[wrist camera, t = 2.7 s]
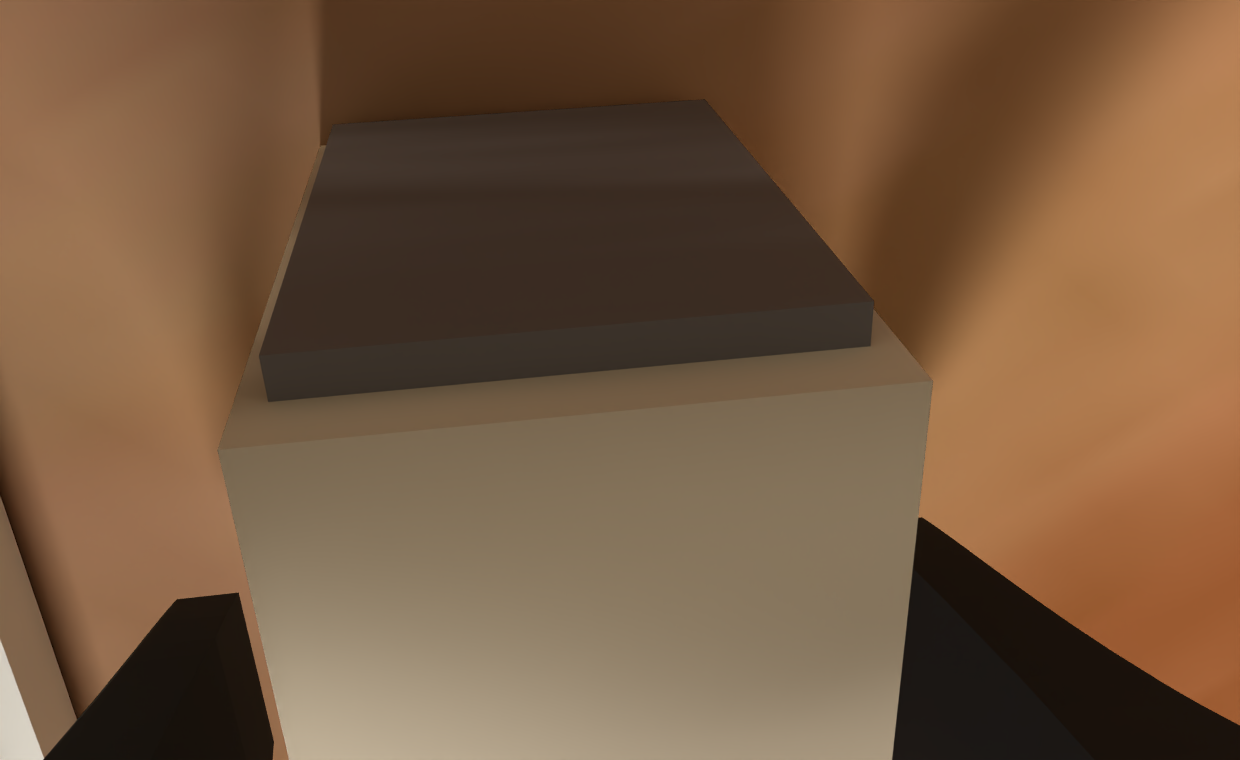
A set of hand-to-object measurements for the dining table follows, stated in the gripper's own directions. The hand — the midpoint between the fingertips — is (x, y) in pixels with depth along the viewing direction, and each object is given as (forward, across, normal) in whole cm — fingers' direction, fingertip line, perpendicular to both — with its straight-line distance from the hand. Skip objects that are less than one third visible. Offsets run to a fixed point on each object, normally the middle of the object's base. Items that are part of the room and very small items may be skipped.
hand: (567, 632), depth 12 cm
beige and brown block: (+2, 0, 0) cm, 2 cm away
